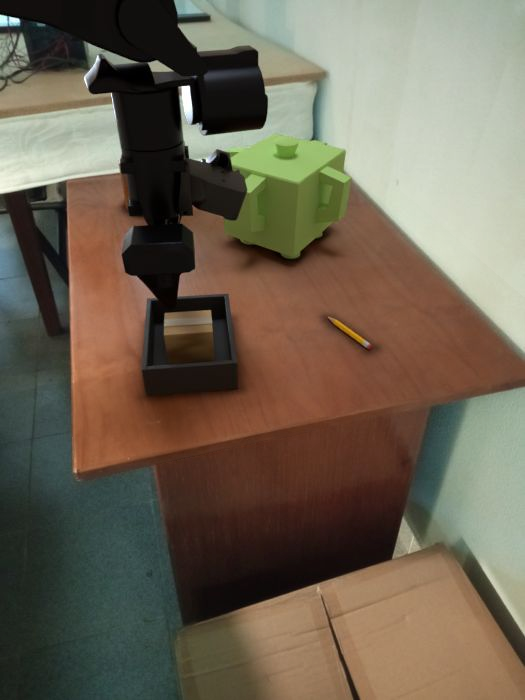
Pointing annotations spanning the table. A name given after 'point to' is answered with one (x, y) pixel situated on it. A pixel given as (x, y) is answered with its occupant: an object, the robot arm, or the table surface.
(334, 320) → the pencil
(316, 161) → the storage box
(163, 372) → the bin
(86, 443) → the table surface
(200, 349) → the package
